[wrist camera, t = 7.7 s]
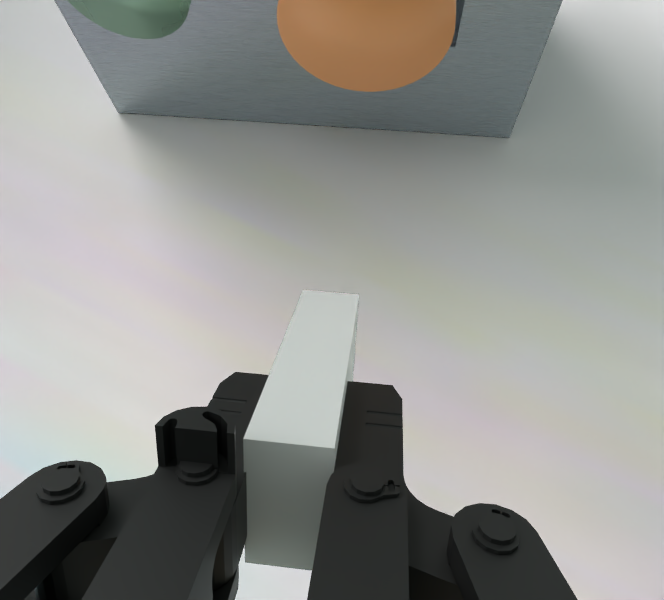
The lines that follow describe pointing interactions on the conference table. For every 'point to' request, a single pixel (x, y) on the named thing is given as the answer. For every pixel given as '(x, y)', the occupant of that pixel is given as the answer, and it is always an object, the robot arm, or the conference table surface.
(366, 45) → the disc
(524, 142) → the conference table surface
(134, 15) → the box
